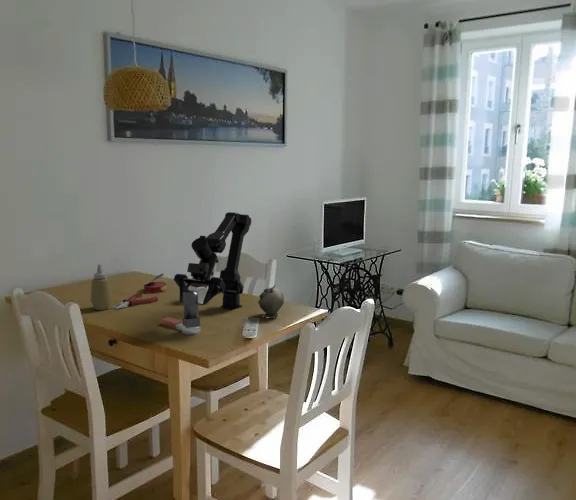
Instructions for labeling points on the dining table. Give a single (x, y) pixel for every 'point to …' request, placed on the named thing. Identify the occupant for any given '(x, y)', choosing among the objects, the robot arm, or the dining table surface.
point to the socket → (191, 309)
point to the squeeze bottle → (100, 290)
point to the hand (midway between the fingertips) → (192, 303)
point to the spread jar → (199, 291)
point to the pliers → (135, 301)
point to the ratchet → (180, 326)
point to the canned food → (155, 286)
